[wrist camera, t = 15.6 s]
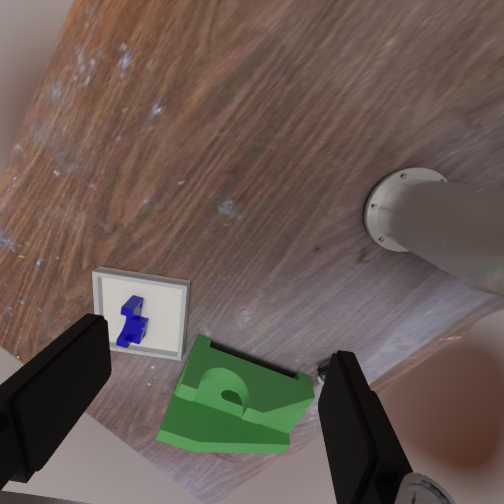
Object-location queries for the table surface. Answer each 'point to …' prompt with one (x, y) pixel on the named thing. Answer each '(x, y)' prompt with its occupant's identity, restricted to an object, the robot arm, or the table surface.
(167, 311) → the tray
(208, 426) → the green cradle stand
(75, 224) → the table surface
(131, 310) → the cable holder
